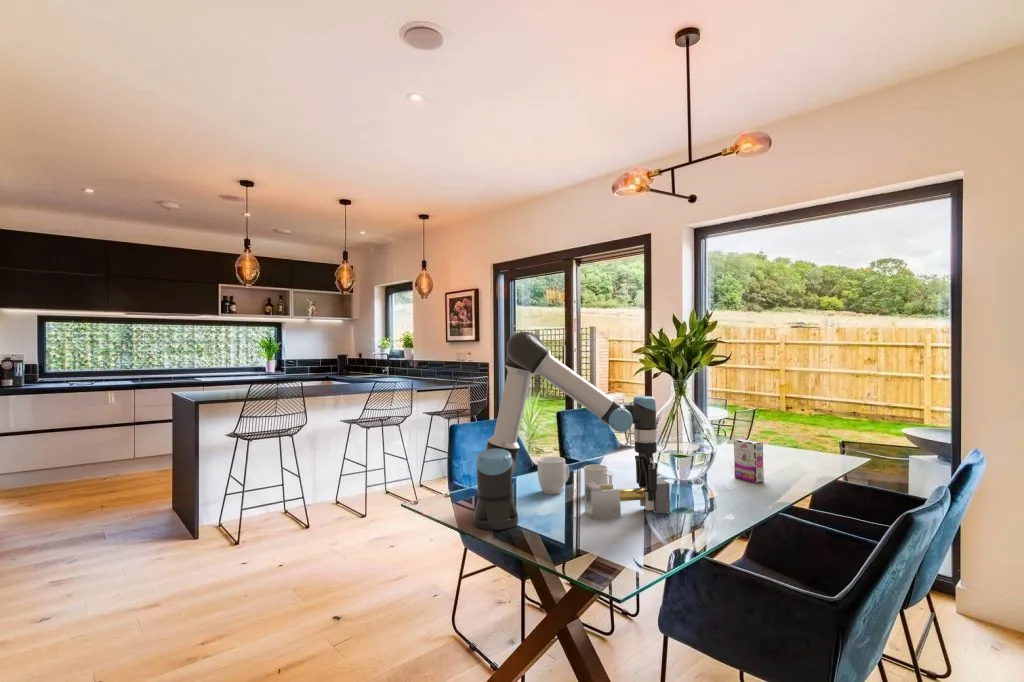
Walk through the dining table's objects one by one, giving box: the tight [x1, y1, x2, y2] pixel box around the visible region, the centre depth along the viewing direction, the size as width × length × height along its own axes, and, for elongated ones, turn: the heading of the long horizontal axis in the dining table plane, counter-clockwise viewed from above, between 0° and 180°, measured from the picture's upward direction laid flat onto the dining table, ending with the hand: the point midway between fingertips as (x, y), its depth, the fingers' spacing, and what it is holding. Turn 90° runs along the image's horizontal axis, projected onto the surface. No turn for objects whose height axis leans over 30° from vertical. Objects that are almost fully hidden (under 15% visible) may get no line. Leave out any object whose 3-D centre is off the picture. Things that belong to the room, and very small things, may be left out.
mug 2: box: [583, 464, 613, 487], centre depth 205 cm, size 12×9×11 cm
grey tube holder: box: [584, 482, 622, 520], centre depth 185 cm, size 10×8×10 cm
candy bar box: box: [733, 438, 765, 484], centre depth 225 cm, size 11×5×16 cm, turn 25°
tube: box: [620, 487, 655, 503], centre depth 187 cm, size 22×4×4 cm, turn 100°
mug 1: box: [537, 456, 571, 496], centre depth 214 cm, size 15×11×13 cm
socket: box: [652, 477, 671, 514], centre depth 188 cm, size 5×8×10 cm, turn 10°
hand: (646, 507), depth 188 cm, fingers closed on tube, 4 cm apart
